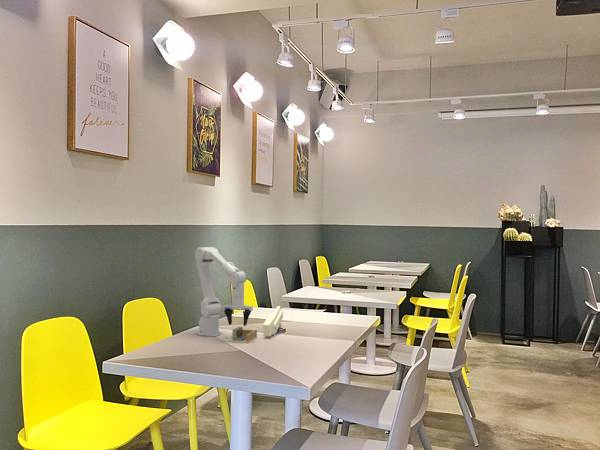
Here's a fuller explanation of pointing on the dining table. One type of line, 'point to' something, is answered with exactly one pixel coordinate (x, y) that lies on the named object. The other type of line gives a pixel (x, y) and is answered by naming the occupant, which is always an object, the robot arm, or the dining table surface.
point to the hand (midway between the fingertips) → (237, 324)
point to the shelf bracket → (273, 322)
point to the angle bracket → (238, 334)
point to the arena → (249, 336)
